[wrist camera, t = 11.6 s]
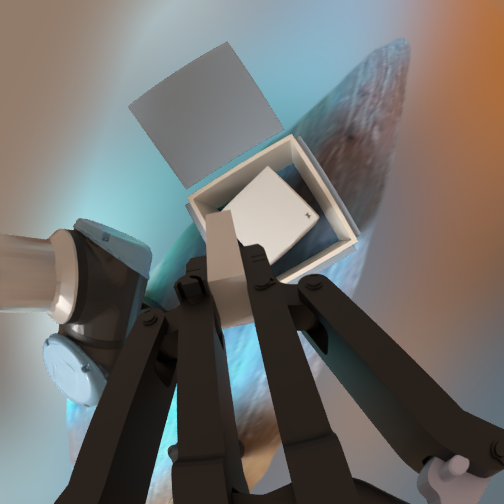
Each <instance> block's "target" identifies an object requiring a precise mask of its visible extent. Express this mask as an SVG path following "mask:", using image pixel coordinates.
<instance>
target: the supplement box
mask: <svg viewBox="0 0 504 504" xmlns="http://www.w3.org/2000/svg"><path fill="white" fill-rule="evenodd" d="M230 209H231V214H232V219H233V223H234V228H235V232H236V237H237V238H238V240H239V241H240V242H241V243H242V244H243V245H244V246H249V245H253V244H259V245H261V246H262V247H264V249H265V252H266V255H267V258H268V260H269V263H270V265H272V264H273V263H275V262H276V261H277V260H279V259H280V258H281V257H282V256H283V255H284V254H285V253H286V252H287V251H289V250H290V249H291V248H292V247H293V246H294V245H295V244H296V243H297V242H298V241H299V240H300V239H301V238H302V237H303V236H304V235H305V234H306V233H307V232H309V231H310V230H311V229H312V228H313V227H314V226H315V224H316V222H317V221H318V219H319V215H318V214H317V213H316V212H315V211H314V210H313V209H312V208H311V207H310V206H309V205H308V204H307V203H306V201H305V200H304V199H303V198H302V197H301V196H300V195H299V194H297V193H296V192H295V191H294V190H293V189H292V188H291V187H290V186H289V185H288V184H287V183H286V182H285V181H284V180H283V179H282V178H281V177H280V176H279V175H278V174H277V173H276V172H275V171H273V170H272V169H271V168H270V167H269V166H267V167H266V168H265V169H264V170H263V171H262V172H261V173H260V174H259V175H258V176H257V177H255V178H254V179H253V180H252V181H251V182H250V183H249V184H248V185H247V186H246V187H245V188H244V189H243V190H242V191H241V192H240V193H239V194H238V195H237V196H236V197H235V198H234V199H233V200H232V201H231V202H230V203H229V204H228V205H227V206H226V207H225V208H224V209H223V210H222V211H225V210H230Z"/></svg>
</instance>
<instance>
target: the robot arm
mask: <svg viewBox="0 0 504 504" xmlns="http://www.w3.org/2000/svg"><path fill="white" fill-rule="evenodd" d="M73 227H74V230H67V229H59V230H56V231H55V232H54V233H53V234H52V235H51V236H50V237H49V238H48V239H38V238H29V237H23V236H15V235H8V234H0V312H46V313H47V314H48V315H49V316H50V317H51V318H52V319H53V320H54V321H55V322H56V323H58V324H59V331H58V333H55V334H52V335H50V337H49V338H48V339H46V340H45V342H44V344H43V359H44V363H45V366H46V369H47V371H48V373H49V375H50V377H51V379H52V380H53V382H54V384H55V385H56V386H57V388H58V389H59V390H60V391H61V392H62V393H63V394H64V395H65V396H66V397H67V398H68V399H70V400H71V401H73V402H74V403H76V404H78V405H80V406H84V407H94V406H97V407H96V410H95V412H94V415H93V417H92V420H91V422H90V425H89V427H88V430H87V433H86V435H85V438H84V441H83V443H82V446H81V449H80V452H79V454H78V457H77V460H76V463H75V466H74V469H73V472H72V475H71V478H70V481H69V484H68V486H67V487H66V488H65V490H64V491H63V492H62V493H61V495H60V496H59V498H58V499H57V500H56V501H55V503H54V504H145V503H146V499H147V495H148V490H149V486H150V482H151V478H152V474H153V470H154V466H155V462H156V458H157V454H158V450H159V446H160V443H161V439H162V435H163V431H164V428H165V424H166V420H167V416H168V413H169V409H170V406H171V402H172V398H173V395H174V391H175V388H176V384H177V435H178V458H177V460H176V461H175V462H174V463H173V465H172V473H171V476H172V494H173V504H410V503H407V502H405V501H403V500H401V499H399V498H397V497H395V496H393V495H391V494H389V493H386V492H385V491H383V490H381V489H379V488H377V487H375V486H373V485H371V484H369V483H367V482H365V481H363V480H360V479H356V478H352V476H351V473H350V470H349V467H348V464H347V461H346V458H345V456H344V452H343V449H342V447H341V444H340V441H339V439H338V437H337V435H336V434H335V433H334V432H333V431H332V429H331V427H330V424H329V421H328V419H327V415H326V413H325V410H324V407H323V404H322V401H321V398H320V395H319V393H318V390H317V387H316V384H315V381H314V378H313V376H312V373H311V370H310V367H309V364H308V361H307V359H306V356H305V353H304V350H303V347H302V345H301V342H300V339H299V336H298V334H297V331H301V332H302V334H303V335H304V336H305V338H306V339H307V340H308V342H309V343H310V344H311V345H312V347H313V348H314V349H315V351H316V352H317V353H318V354H319V356H320V357H321V358H322V360H323V361H324V362H325V363H326V365H327V366H328V367H329V368H330V370H331V371H332V372H333V374H334V375H335V376H336V377H337V379H338V380H339V381H340V383H341V384H342V385H343V386H344V387H345V389H346V390H347V391H348V393H349V394H350V395H351V396H352V397H353V399H354V400H355V401H356V403H357V404H358V405H359V407H360V408H361V409H362V410H363V412H364V413H365V414H366V415H367V417H368V418H369V419H370V421H371V422H372V423H373V424H374V426H375V427H376V428H377V429H378V430H379V432H380V433H381V434H382V436H383V437H384V438H385V439H386V440H387V442H388V443H389V444H390V445H391V447H392V448H393V449H394V451H395V452H396V453H397V454H398V455H399V457H400V458H401V459H402V460H403V461H404V462H405V463H406V464H407V465H408V466H410V467H411V468H412V469H413V470H414V471H416V472H417V473H419V476H418V479H417V488H418V490H419V492H420V493H421V494H422V495H423V496H424V497H425V498H426V500H427V502H428V504H478V502H479V500H480V498H481V496H482V494H483V492H484V490H485V489H486V487H487V485H488V483H489V481H490V479H491V477H492V476H493V475H495V474H496V473H498V472H500V471H501V470H503V469H504V429H502V428H500V427H497V426H495V425H493V424H491V423H489V422H487V421H485V420H483V419H480V418H478V417H476V416H474V415H472V414H470V413H468V412H466V411H464V410H462V409H461V408H460V407H459V406H458V404H457V403H456V402H455V401H454V400H453V399H452V398H451V397H450V396H449V395H448V394H447V393H446V392H445V391H444V390H443V389H442V388H441V387H440V386H439V385H438V384H437V383H436V382H435V381H434V380H433V379H432V378H431V377H430V376H429V375H428V374H427V373H426V372H425V371H424V370H423V369H422V368H421V367H420V366H419V365H418V364H417V363H416V362H415V361H414V360H413V359H412V358H411V357H410V356H409V355H408V354H407V353H406V352H405V351H404V350H403V349H402V348H401V347H400V346H399V345H398V344H397V343H396V342H395V341H394V340H393V339H392V338H391V337H390V336H389V335H388V334H387V333H386V332H384V330H382V329H381V328H380V327H379V326H378V325H377V324H376V323H375V322H374V321H373V320H372V319H371V318H370V317H369V316H368V315H367V314H366V313H365V312H364V311H363V310H361V309H360V308H359V307H358V306H357V305H356V304H355V303H354V302H353V301H352V300H351V299H350V298H349V297H348V296H347V295H346V294H344V293H343V292H342V291H341V290H340V289H339V288H338V287H337V286H336V285H335V284H334V283H333V282H332V281H330V280H329V279H328V278H327V277H325V276H324V275H321V274H309V275H305V276H304V277H302V278H301V279H300V280H299V281H298V284H286V283H282V282H280V281H278V280H277V279H276V277H275V276H274V274H273V271H272V269H271V266H270V263H269V260H268V258H267V255H266V252H265V249H264V247H262V246H261V245H259V244H253V245H249V246H244V247H239V245H238V241H237V237H236V232H235V228H234V223H233V219H232V214H231V209H230V210H225V211H221V212H216V213H212V214H207V215H206V251H207V255H206V256H201V257H196V258H192V259H190V261H189V262H188V264H187V265H186V275H185V276H183V277H181V278H180V279H178V280H177V282H176V283H175V285H174V288H175V291H176V293H177V296H178V298H179V301H180V305H179V306H178V307H176V308H175V309H173V310H171V311H168V312H166V311H165V310H164V309H163V308H162V307H161V306H160V305H158V304H157V303H156V302H154V301H152V300H150V299H148V298H144V294H145V290H146V286H147V282H148V280H149V277H150V276H149V271H150V266H151V262H152V252H151V250H150V248H149V247H148V246H147V245H146V244H145V243H143V242H141V241H139V240H138V239H136V238H134V237H132V236H129V235H127V234H125V233H122V232H120V231H118V230H115V229H113V228H110V227H108V226H105V225H103V224H100V223H97V222H94V221H91V220H88V219H82V218H79V219H78V220H77V221H76V223H75V224H74V226H73ZM253 322H254V323H255V327H256V332H257V336H258V340H259V345H260V349H261V354H262V358H263V363H264V367H265V371H266V376H267V380H268V384H269V389H270V393H271V397H272V402H273V406H274V410H275V415H276V419H277V423H278V427H279V431H280V436H281V440H282V444H283V448H284V452H285V457H286V461H287V465H288V469H289V473H290V477H291V481H292V483H290V484H288V485H286V486H283V487H281V488H279V489H277V490H274V491H272V492H270V493H267V494H264V495H255V494H250V493H249V489H248V485H247V482H246V479H245V476H244V472H243V466H242V460H241V454H240V448H239V442H238V435H237V429H236V422H235V415H234V408H233V401H232V394H231V387H230V379H229V372H228V364H227V356H226V348H225V340H224V335H223V332H222V328H223V329H224V328H229V327H234V326H239V325H244V324H248V323H253ZM221 325H222V328H221Z"/></svg>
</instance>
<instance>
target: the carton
mask: <svg viewBox="0 0 504 504" xmlns="http://www.w3.org/2000/svg"><path fill="white" fill-rule="evenodd" d="M291 164H294V166H295V167H296V169H297V170H298V172H299V173H300V175H301V177H302V178H303V180H304V181H305V183H306V184H307V186H308V188H309V189H310V191H311V193H312V194H313V196H314V198H315V199H316V201H317V202H318V204H319V206H320V208H321V209H322V211H323V213H324V214H325V216H326V218H327V219H328V221H329V223H330V225H331V226H332V228H333V230H334V232H335V233H336V235H337V237H338V239H339V241H338V242H336V243H334V244H333V245H331V246H329V247H328V248H326V249H324V250H322V251H321V252H319V253H317V254H316V255H314V256H312V257H310V258H309V259H307V260H305V261H303V262H302V263H300V264H298V265H296V266H295V267H293V268H291V269H289V270H288V271H286V272H284V273H282V274H281V275H279V276H277V277H276V279H277V280H278V281H280V282H282V283H286V284H298V281H299V280H300V279H301V278H302V277H304V276H305V275H309V274H317V273H319V272H321V271H322V270H324V269H326V268H328V267H329V266H331V265H333V264H334V263H336V262H338V261H340V260H341V259H343V258H345V257H346V256H348V255H350V254H351V253H353V252H355V251H356V248H355V246H354V245H353V244H355V243H357V242H358V240H357V239H356V237H357V236H358V235H360V234H361V233H360V231H359V229H358V228H357V226H356V224H355V222H354V221H353V219H352V217H351V215H350V214H349V212H348V210H347V208H346V207H345V205H344V203H343V202H342V200H341V198H340V197H339V195H338V193H337V192H336V190H335V188H334V187H333V185H332V184H331V182H330V180H329V179H328V177H327V176H326V174H325V172H324V171H323V169H322V168H321V166H320V165H319V163H318V162H317V160H316V158H315V157H314V155H313V154H312V152H311V151H310V149H309V148H308V146H307V145H306V144H305V142H304V141H303V139H302V138H301V136H298V137H296V138H294V137H293V135H292V134H290V135H288V136H287V137H285V138H283V139H281V140H280V141H278V142H276V143H274V144H273V145H271V146H269V147H267V148H266V149H264V150H262V151H260V152H259V153H257V154H255V155H254V156H252V157H251V158H249V159H247V160H246V161H244V162H242V163H240V164H239V165H237V166H236V167H234V168H232V169H231V170H229V171H227V172H226V173H224V174H223V175H221V176H220V177H218V178H216V179H215V180H213V181H212V182H210V183H209V184H207V185H206V186H204V187H203V188H201V189H199V190H198V191H196V192H195V193H193V194H192V195H190V196H189V197H187V198H188V200H189V203H188V204H186V208H187V210H188V212H189V214H190V215H191V217H192V219H193V221H194V223H195V225H196V227H197V228H198V230H199V232H200V234H201V236H202V238H203V239H204V241H205V243H206V215H207V214H212V213H216V212H219V210H218V208H220V207H221V206H223V205H224V204H226V203H228V202H229V201H231V200H232V199H234V198H235V197H236V196H237V195H238V194H239V193H240V192H241V191H242V190H243V189H244V188H245V187H246V186H247V185H248V184H249V183H250V182H251V181H252V180H253V179H254V178H255V177H257V176H258V175H259V174H260V173H261V172H262V171H263V170H264V169H265V168H266V167H267V166H269V167H270V168H271V169H272V170H273V171H275V172H276V173H277V172H279V171H281V170H282V169H284V168H286V167H288V166H289V165H291Z"/></svg>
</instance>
